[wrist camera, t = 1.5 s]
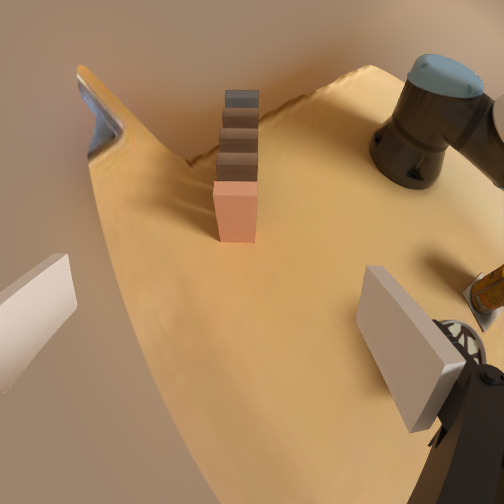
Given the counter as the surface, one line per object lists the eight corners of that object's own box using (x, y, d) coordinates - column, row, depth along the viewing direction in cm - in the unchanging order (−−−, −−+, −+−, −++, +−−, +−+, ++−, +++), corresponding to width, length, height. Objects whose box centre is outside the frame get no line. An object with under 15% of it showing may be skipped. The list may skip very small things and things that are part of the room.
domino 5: (221, 229, 46) (214, 181, 35) (255, 230, 46) (257, 181, 35) (220, 242, 45) (212, 195, 34) (255, 242, 45) (257, 196, 35)
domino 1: (228, 142, 54) (225, 90, 43) (256, 142, 54) (258, 90, 43) (228, 150, 53) (224, 97, 42) (256, 150, 53) (258, 97, 42)
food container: (455, 392, 36) (497, 388, 27) (426, 410, 35) (466, 411, 26) (435, 321, 41) (473, 303, 31) (404, 334, 40) (441, 319, 31)
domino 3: (225, 181, 50) (220, 128, 39) (256, 181, 50) (258, 128, 39) (224, 191, 49) (219, 138, 38) (255, 191, 49) (257, 139, 38)
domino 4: (223, 204, 48) (217, 152, 37) (255, 204, 48) (257, 153, 37) (222, 215, 47) (216, 164, 36) (255, 216, 47) (257, 165, 36)
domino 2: (227, 160, 52) (223, 107, 41) (256, 161, 52) (258, 108, 41) (226, 169, 51) (222, 116, 40) (256, 169, 51) (258, 116, 40)
